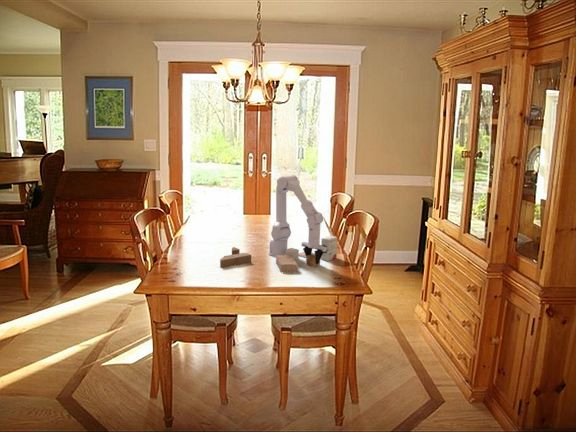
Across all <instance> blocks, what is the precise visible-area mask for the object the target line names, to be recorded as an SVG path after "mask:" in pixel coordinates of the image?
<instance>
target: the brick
mask: <svg viewBox="0 0 576 432" xmlns="http://www.w3.org/2000/svg"><path fill="white" fill-rule="evenodd" d="M275 257H276V258H275V264H276V265H277V269H279V272H280V273H282V272H286V273H297V271H298V264H297V262H296V260H294V259H293V256H292V255H288V254H287V255H277V256H275Z"/></svg>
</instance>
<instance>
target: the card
mask: <svg viewBox="0 0 576 432" xmlns="http://www.w3.org/2000/svg"><path fill="white" fill-rule="evenodd" d="M311 254H315V252H312V253H311ZM298 257H299V258H300V257H301V258H304V259H306V255H305V252H304V251H303V252H299V256H298Z"/></svg>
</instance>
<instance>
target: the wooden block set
mask: <svg viewBox="0 0 576 432" xmlns="http://www.w3.org/2000/svg"><path fill="white" fill-rule="evenodd" d="M240 250H241V249H240V248H238V247H236V246H233V247H231V254H229V255H224V256H223V257H221V258H220V259H219V260H220V261H219V263H220V264H219V265H220V268H221V269H222V268H229V267H235V266H241V265H248V264H251V263H252V254H250V253H247V252H240Z"/></svg>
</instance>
